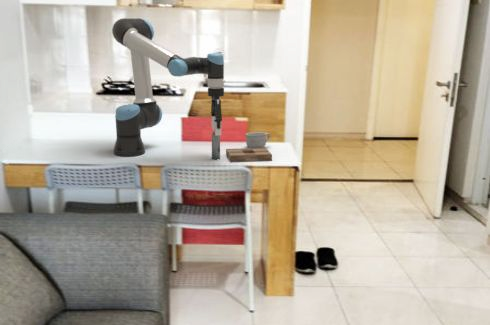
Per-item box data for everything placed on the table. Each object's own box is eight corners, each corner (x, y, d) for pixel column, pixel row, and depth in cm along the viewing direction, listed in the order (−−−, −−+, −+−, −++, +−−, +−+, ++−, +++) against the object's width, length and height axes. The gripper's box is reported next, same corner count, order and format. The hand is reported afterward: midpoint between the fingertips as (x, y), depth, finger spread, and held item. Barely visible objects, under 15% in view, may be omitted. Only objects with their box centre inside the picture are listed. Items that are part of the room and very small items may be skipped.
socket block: (225, 154, 262) (226, 148, 262) (265, 153, 266) (265, 147, 265) (230, 162, 249) (230, 155, 248) (271, 160, 253) (272, 154, 252)
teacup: (249, 151, 270) (249, 136, 268) (242, 146, 280) (242, 131, 278) (274, 149, 275) (275, 134, 272) (267, 145, 284) (267, 130, 282)
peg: (211, 157, 256) (211, 131, 253) (219, 157, 257) (219, 131, 254) (212, 160, 252) (212, 133, 249) (220, 159, 253) (220, 133, 250)
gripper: (228, 90, 235) (228, 137, 240) (220, 84, 258) (220, 127, 264) (211, 90, 233) (211, 138, 239) (204, 84, 257) (205, 127, 262)
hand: (216, 132), depth 251 cm, fingers open, 13 cm apart
